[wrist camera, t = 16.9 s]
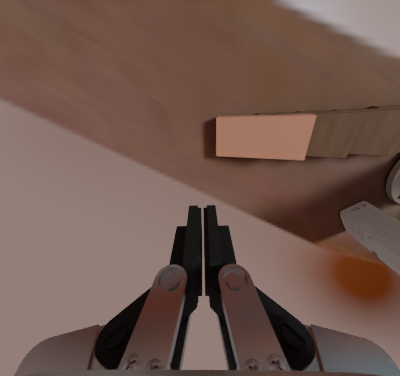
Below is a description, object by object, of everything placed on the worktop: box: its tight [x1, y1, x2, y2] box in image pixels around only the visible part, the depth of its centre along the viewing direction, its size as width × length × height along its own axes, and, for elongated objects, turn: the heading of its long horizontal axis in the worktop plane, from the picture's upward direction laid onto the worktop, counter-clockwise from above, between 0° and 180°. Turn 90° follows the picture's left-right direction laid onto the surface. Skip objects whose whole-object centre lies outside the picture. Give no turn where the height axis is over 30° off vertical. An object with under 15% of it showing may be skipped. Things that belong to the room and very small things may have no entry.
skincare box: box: [340, 201, 400, 275], centre depth 23 cm, size 6×4×12 cm
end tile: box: [216, 114, 317, 160], centre depth 19 cm, size 2×5×10 cm
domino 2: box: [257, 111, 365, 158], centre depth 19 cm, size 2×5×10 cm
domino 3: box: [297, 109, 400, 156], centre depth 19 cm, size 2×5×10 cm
